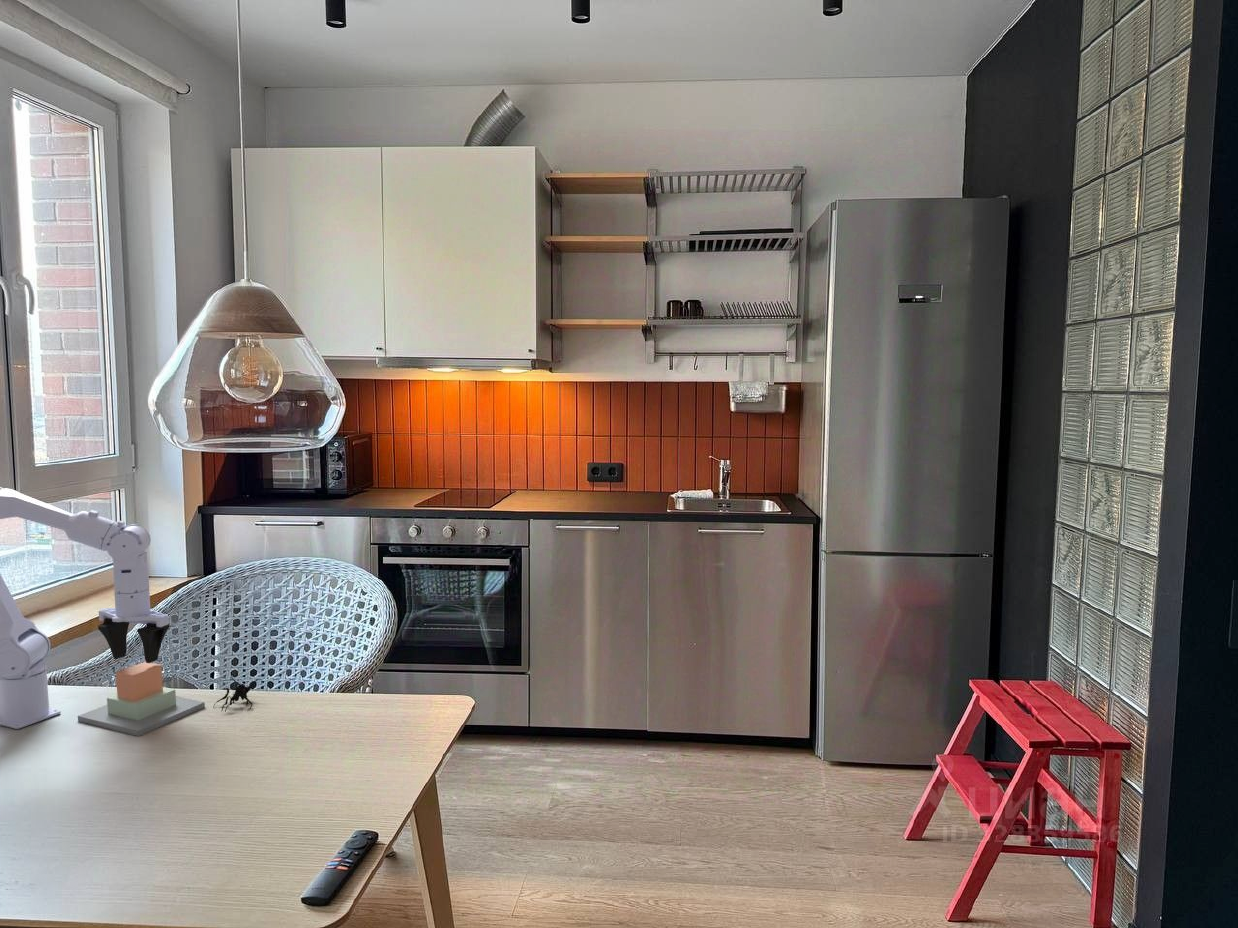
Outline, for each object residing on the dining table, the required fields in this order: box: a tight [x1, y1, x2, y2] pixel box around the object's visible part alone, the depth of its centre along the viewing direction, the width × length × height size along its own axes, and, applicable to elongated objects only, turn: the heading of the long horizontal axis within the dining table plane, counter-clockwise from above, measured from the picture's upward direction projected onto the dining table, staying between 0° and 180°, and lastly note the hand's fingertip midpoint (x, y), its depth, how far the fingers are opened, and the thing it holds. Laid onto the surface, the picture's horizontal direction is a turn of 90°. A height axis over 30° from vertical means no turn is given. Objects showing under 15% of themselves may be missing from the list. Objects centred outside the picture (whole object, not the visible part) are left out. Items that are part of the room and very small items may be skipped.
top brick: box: [115, 661, 164, 702], centre depth 155 cm, size 4×6×5 cm
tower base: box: [77, 686, 206, 737], centre depth 156 cm, size 16×14×4 cm
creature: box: [213, 676, 260, 713], centre depth 160 cm, size 8×5×8 cm
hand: (135, 659), depth 157 cm, fingers open, 7 cm apart
